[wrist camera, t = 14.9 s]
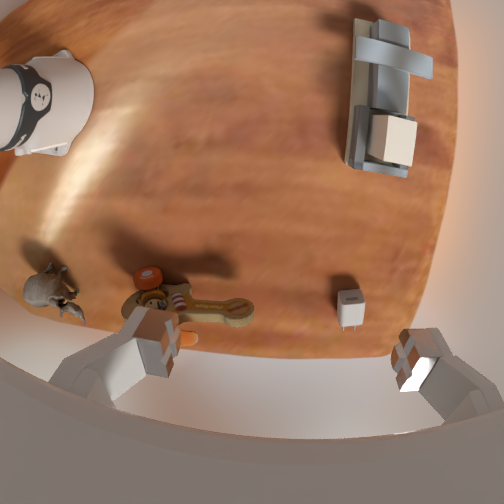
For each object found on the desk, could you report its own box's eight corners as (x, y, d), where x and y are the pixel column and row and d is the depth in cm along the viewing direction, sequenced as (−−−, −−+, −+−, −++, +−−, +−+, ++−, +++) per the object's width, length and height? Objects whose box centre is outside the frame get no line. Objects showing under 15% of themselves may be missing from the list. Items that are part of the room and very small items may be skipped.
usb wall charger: (360, 288, 44) (366, 303, 41) (357, 320, 47) (362, 336, 44) (337, 290, 45) (341, 305, 41) (335, 323, 48) (338, 338, 44)
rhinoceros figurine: (22, 252, 45) (13, 304, 35) (78, 248, 53) (80, 299, 43) (28, 280, 49) (24, 332, 40) (81, 276, 57) (86, 327, 47)
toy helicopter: (134, 265, 46) (95, 313, 34) (256, 267, 44) (246, 326, 32) (145, 304, 50) (113, 355, 38) (257, 309, 48) (250, 372, 36)
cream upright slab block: (363, 151, 34) (383, 160, 27) (366, 114, 32) (388, 115, 24) (387, 155, 34) (411, 166, 26) (391, 120, 31) (417, 122, 24)
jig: (336, 162, 36) (346, 169, 31) (345, 19, 27) (356, 4, 21) (402, 172, 35) (420, 182, 30) (412, 36, 26) (431, 27, 21)
